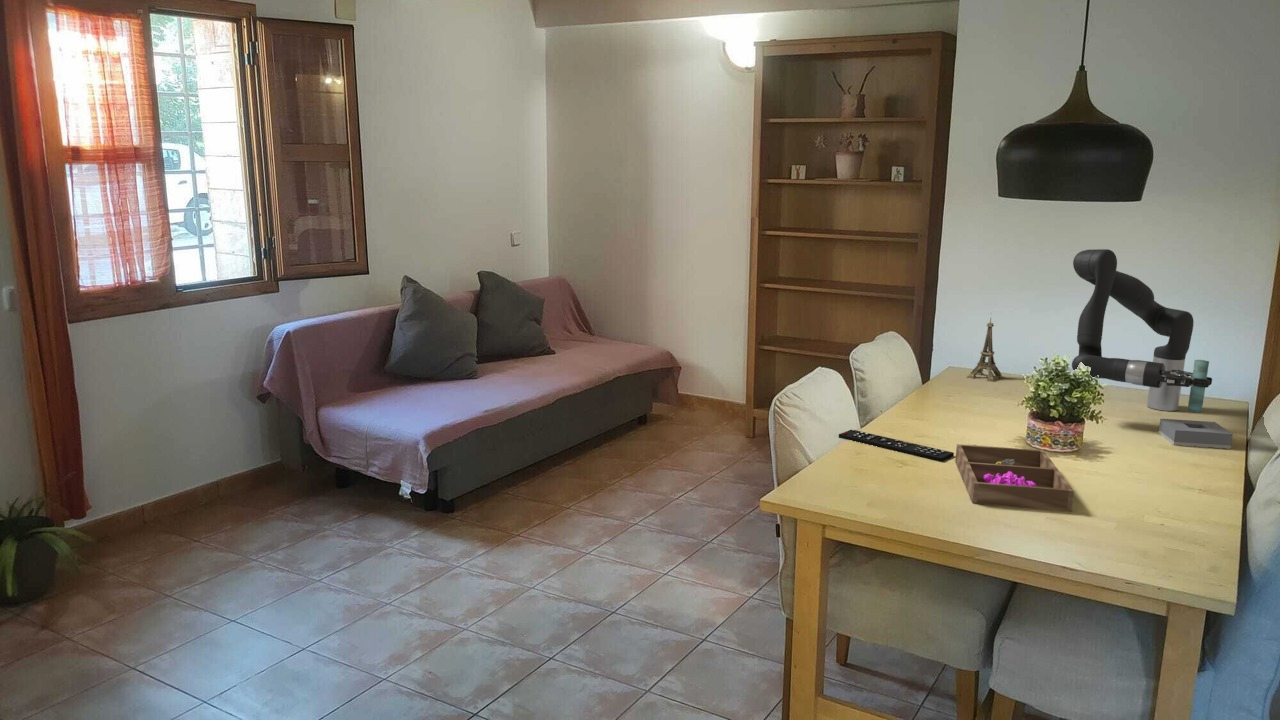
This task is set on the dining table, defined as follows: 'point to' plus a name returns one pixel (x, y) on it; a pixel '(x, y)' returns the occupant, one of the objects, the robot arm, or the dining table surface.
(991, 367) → the eiffel tower
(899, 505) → the dining table surface
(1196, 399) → the teal pin
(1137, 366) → the robot arm
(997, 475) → the magenta lumpy cluster
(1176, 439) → the socket block
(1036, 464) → the walnut display tray
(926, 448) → the remote control
